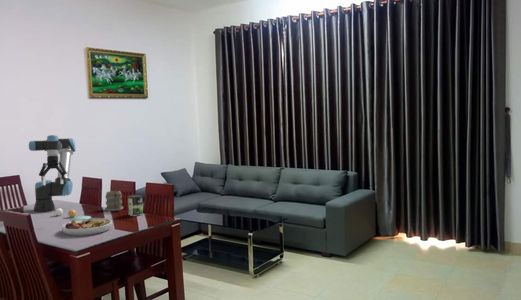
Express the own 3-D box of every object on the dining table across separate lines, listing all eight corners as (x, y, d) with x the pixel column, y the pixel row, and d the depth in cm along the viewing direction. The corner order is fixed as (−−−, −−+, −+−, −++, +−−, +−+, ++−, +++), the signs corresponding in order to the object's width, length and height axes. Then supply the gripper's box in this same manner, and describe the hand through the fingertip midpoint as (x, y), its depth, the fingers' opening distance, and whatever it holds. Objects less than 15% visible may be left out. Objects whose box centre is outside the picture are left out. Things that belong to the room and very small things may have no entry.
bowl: (86, 223, 295) (86, 212, 294) (122, 227, 284) (121, 215, 283) (50, 235, 267) (50, 222, 266) (88, 239, 256) (88, 226, 255)
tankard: (103, 209, 342) (102, 190, 341) (119, 207, 350) (118, 188, 349) (112, 213, 326) (112, 193, 325) (128, 210, 334) (128, 191, 333)
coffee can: (145, 213, 324) (144, 194, 323) (138, 216, 314) (138, 197, 313) (132, 212, 326) (132, 194, 325) (126, 215, 316) (125, 197, 315)
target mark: (65, 219, 307) (65, 219, 307) (81, 215, 320) (81, 215, 320) (79, 221, 301) (79, 220, 301) (95, 217, 314) (95, 216, 314)
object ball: (66, 217, 313) (66, 210, 313) (72, 216, 318) (72, 208, 318) (71, 218, 311) (71, 210, 310) (77, 216, 316) (77, 209, 315)
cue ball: (53, 216, 320) (53, 208, 319) (59, 214, 324) (59, 207, 324) (58, 216, 317) (58, 209, 317) (64, 215, 322) (64, 207, 322)
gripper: (33, 156, 316) (33, 185, 314) (66, 154, 315) (66, 183, 312) (39, 157, 324) (39, 185, 321) (71, 155, 322) (71, 183, 320)
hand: (52, 184), depth 317 cm, fingers open, 13 cm apart
